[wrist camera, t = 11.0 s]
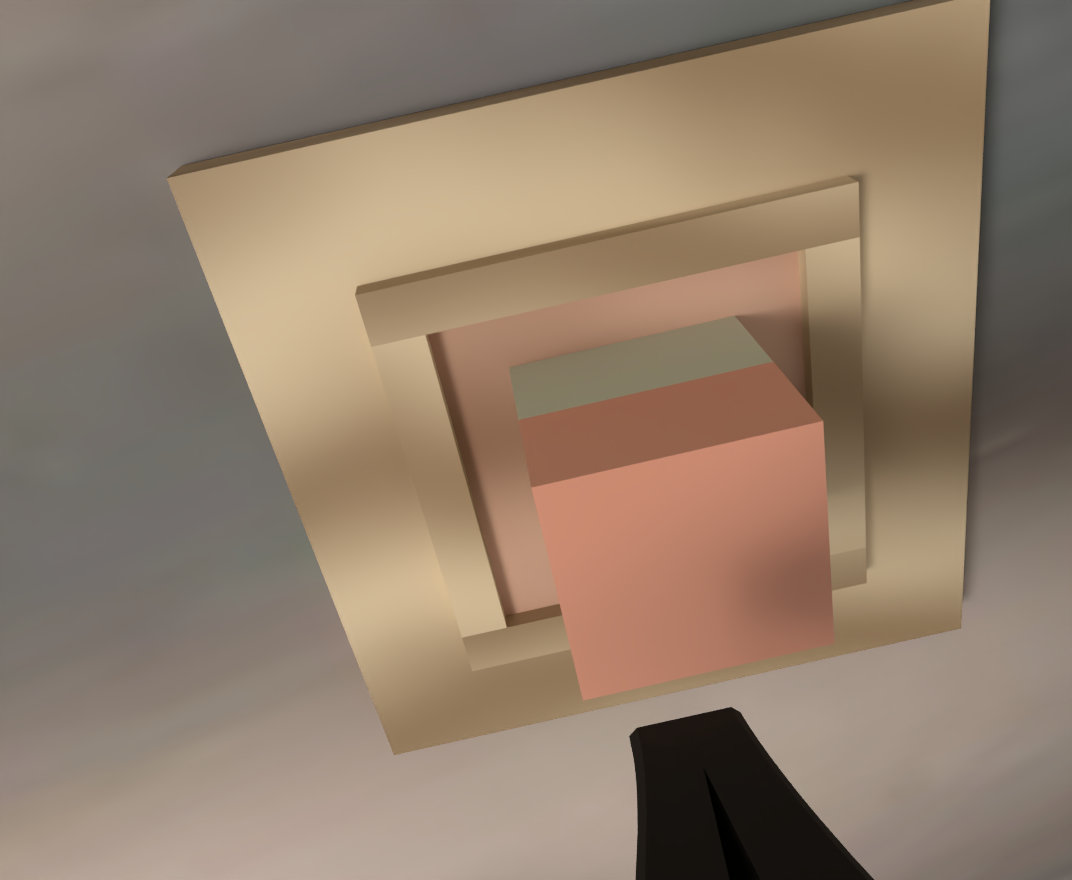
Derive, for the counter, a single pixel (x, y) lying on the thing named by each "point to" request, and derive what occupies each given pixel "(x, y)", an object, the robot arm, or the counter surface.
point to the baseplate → (609, 328)
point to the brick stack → (678, 504)
